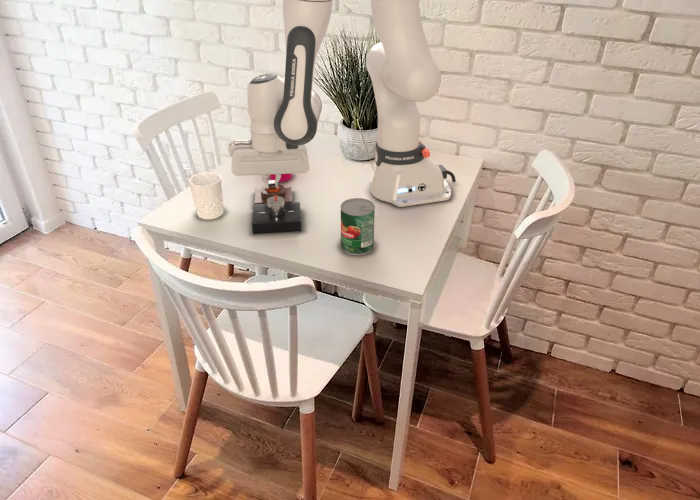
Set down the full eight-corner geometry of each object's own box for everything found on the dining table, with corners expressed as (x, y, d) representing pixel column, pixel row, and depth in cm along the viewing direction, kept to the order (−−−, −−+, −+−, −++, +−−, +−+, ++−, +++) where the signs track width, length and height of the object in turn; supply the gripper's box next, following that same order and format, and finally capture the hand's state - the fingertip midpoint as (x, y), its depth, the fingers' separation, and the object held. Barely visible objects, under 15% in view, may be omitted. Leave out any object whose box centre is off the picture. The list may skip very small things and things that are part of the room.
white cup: (215, 223, 143) (210, 188, 137) (189, 217, 145) (182, 183, 140) (231, 209, 149) (226, 174, 143) (205, 203, 151) (200, 170, 146)
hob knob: (284, 216, 140) (283, 203, 138) (267, 216, 139) (265, 203, 137) (285, 207, 143) (284, 194, 141) (268, 208, 143) (267, 195, 141)
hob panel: (300, 211, 148) (299, 201, 146) (301, 231, 139) (301, 220, 138) (254, 214, 147) (253, 203, 145) (252, 234, 138) (251, 223, 137)
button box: (291, 192, 157) (291, 181, 155) (292, 206, 150) (291, 195, 148) (255, 194, 156) (254, 183, 154) (254, 208, 149) (253, 196, 147)
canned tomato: (335, 250, 132) (334, 210, 126) (348, 234, 138) (348, 195, 132) (366, 258, 130) (367, 217, 124) (378, 241, 136) (380, 201, 130)
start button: (279, 190, 153) (279, 184, 152) (279, 196, 150) (279, 190, 149) (266, 190, 153) (266, 185, 152) (266, 197, 150) (265, 191, 149)
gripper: (226, 145, 140) (232, 195, 147) (308, 142, 141) (310, 191, 149) (228, 136, 145) (234, 184, 152) (307, 133, 147) (309, 180, 154)
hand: (272, 187), depth 151 cm, fingers closed, pressing on start button
